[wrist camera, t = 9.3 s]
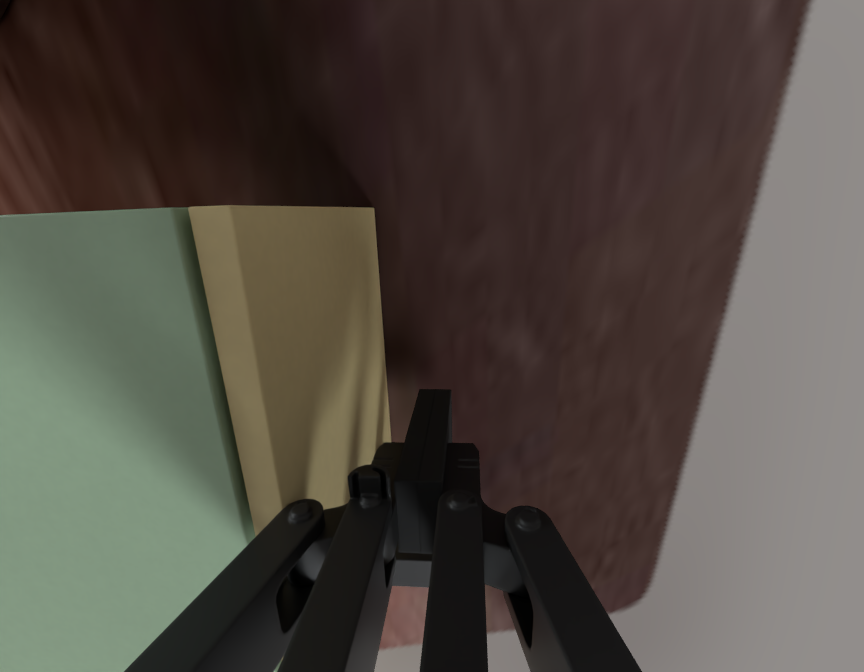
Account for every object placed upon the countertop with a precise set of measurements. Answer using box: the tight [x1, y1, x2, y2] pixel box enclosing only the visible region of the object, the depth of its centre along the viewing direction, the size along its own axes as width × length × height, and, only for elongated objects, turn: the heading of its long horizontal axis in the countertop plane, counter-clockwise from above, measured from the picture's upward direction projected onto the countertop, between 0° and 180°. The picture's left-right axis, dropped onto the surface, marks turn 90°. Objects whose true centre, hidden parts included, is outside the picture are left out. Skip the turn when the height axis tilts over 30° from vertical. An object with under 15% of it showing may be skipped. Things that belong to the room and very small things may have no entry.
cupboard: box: [0, 207, 281, 672], centre depth 19 cm, size 11×16×15 cm
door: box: [188, 205, 433, 662], centre depth 18 cm, size 6×16×15 cm, turn 2°
